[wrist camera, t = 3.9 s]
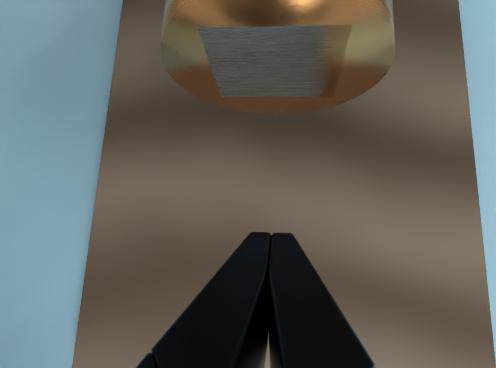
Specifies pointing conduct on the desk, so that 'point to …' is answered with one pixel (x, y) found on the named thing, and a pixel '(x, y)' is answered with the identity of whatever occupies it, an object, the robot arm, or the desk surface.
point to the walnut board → (294, 200)
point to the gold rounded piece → (277, 51)
